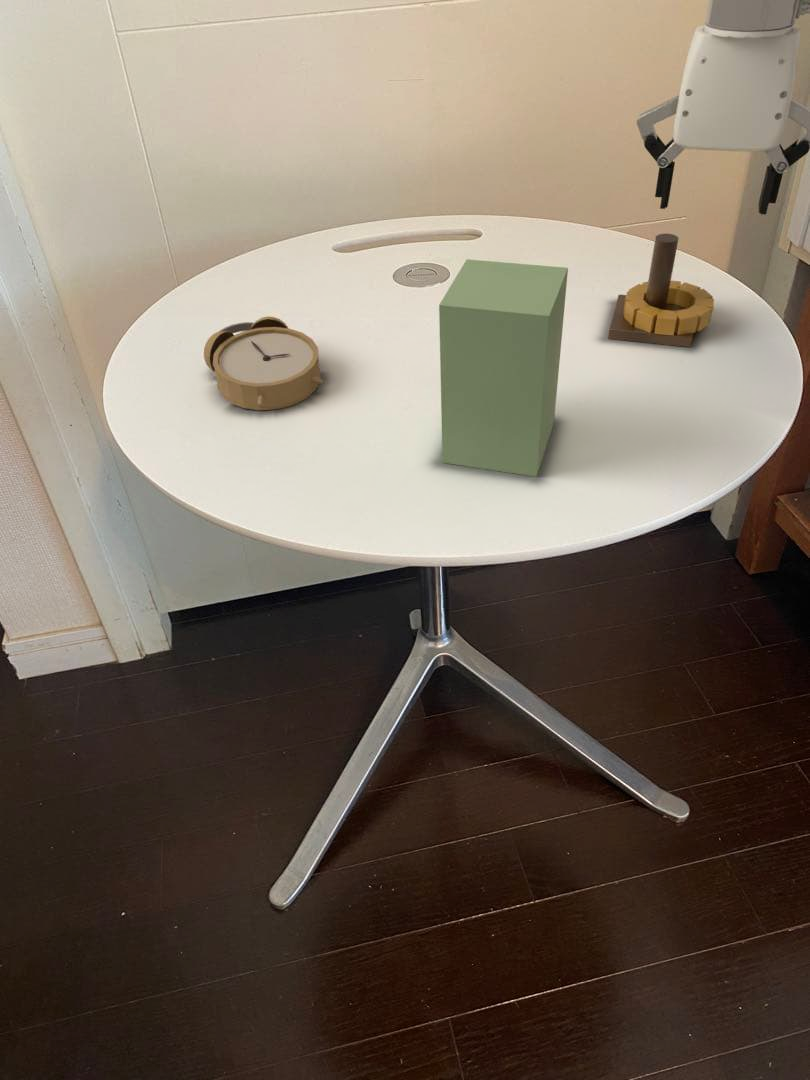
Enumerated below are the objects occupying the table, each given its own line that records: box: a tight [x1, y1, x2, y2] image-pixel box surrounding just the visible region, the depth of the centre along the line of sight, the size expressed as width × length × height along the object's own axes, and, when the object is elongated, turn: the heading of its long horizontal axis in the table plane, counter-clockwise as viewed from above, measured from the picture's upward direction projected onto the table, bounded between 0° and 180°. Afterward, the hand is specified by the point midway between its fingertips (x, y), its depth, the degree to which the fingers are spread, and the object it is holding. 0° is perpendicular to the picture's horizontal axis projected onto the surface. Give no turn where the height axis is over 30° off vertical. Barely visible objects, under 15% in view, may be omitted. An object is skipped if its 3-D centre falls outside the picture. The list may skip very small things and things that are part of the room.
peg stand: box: [607, 233, 694, 348], centre depth 90 cm, size 9×9×10 cm
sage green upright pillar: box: [438, 258, 569, 478], centre depth 73 cm, size 9×9×16 cm
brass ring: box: [623, 280, 715, 335], centre depth 92 cm, size 10×10×2 cm
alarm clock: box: [203, 316, 324, 411], centre depth 88 cm, size 11×5×15 cm
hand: (712, 207), depth 83 cm, fingers open, 9 cm apart
